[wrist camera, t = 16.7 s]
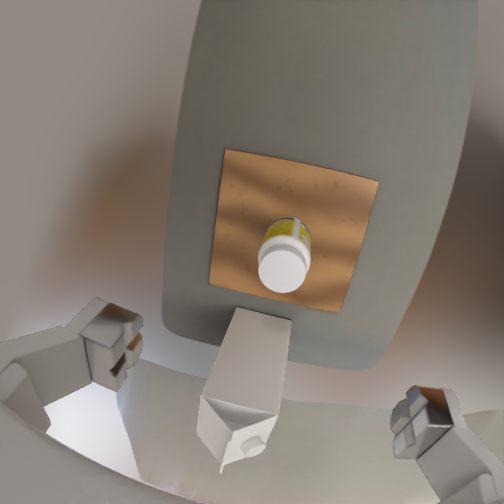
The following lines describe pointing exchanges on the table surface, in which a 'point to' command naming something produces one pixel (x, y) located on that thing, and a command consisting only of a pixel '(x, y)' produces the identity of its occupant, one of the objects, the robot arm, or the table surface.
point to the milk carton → (244, 386)
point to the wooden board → (292, 205)
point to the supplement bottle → (285, 255)
